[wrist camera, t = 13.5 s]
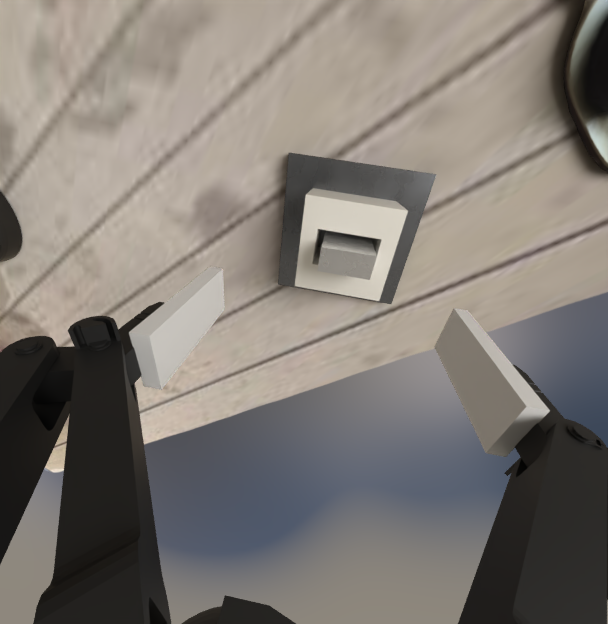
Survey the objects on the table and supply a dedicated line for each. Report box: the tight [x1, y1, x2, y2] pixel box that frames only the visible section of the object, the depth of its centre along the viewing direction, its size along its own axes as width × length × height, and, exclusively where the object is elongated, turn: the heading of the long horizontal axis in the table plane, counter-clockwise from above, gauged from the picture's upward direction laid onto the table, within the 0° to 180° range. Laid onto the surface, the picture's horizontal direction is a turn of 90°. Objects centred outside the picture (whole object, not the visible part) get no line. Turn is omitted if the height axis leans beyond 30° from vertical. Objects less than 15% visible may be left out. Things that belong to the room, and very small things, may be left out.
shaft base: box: [278, 153, 436, 304], centre depth 27 cm, size 15×15×10 cm
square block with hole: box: [295, 188, 408, 301], centre depth 28 cm, size 9×9×6 cm
